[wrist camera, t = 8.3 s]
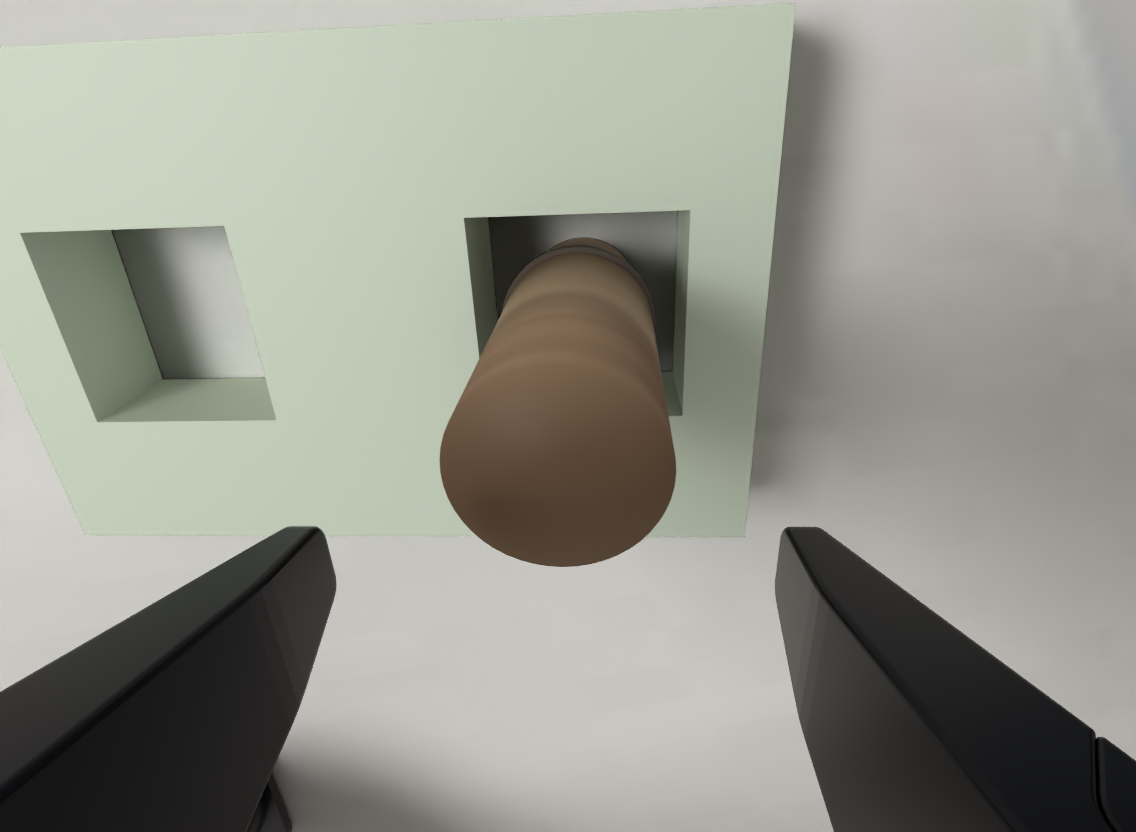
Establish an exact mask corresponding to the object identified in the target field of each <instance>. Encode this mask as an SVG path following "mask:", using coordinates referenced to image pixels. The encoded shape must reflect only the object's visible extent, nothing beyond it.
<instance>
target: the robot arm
mask: <svg viewBox="0 0 1136 832" xmlns="http://www.w3.org/2000/svg"><path fill="white" fill-rule="evenodd" d="M335 593H336V576H335V572H334V568H333V564H332V560H331V556H330V552H329V548H328V544H327V541H326V537H325V534H324V532H323V531H322V529H320V528H319V527H317V526H289V527H285V528H283V529H281V530H280V531H278V532H276V533H275V534H273V535H271V536H269V537H268V538H266V539H264V540H262V541H261V542H259V543H257V544H255V545H254V546H252V547H250V548H249V549H247V550H245V551H243V552H242V553H240V554H238V555H236V556H235V557H233V558H231V559H229V560H228V561H226V562H224V563H223V564H221V565H219V566H217V567H216V568H214V569H212V570H210V571H209V572H207V573H205V574H204V575H202V576H200V577H198V578H197V579H195V580H193V581H191V582H190V583H188V584H186V585H184V586H183V587H181V588H179V589H178V590H176V591H174V592H172V593H171V594H169V595H167V596H165V597H164V598H162V599H160V600H158V601H157V602H155V603H153V604H152V605H150V606H148V607H146V608H145V609H143V610H141V611H139V612H138V613H136V614H134V615H132V616H131V617H129V618H127V619H126V620H124V621H122V622H120V623H119V624H117V625H115V626H113V627H112V628H110V629H108V630H106V631H105V632H103V633H101V634H100V635H98V636H96V637H94V638H93V639H91V640H89V641H87V642H86V643H84V644H82V645H81V646H79V647H77V648H75V649H74V650H72V651H70V652H68V653H67V654H65V655H63V656H61V657H60V658H58V659H56V660H55V661H53V662H51V663H49V664H48V665H46V666H44V667H42V668H41V669H39V670H37V671H35V672H34V673H32V674H30V675H29V676H27V677H25V678H23V679H22V680H20V681H18V682H16V683H15V684H13V685H11V686H9V687H8V688H6V689H4V690H3V691H1V692H0V832H292V826H291V824H290V821H289V818H288V816H287V813H286V810H285V808H284V805H283V802H282V800H281V797H280V795H279V792H278V789H277V787H276V784H275V781H274V779H273V776H272V770H273V768H274V766H275V764H276V761H277V759H278V757H279V754H280V752H281V750H282V747H283V745H284V743H285V741H286V738H287V736H288V734H289V731H290V729H291V727H292V724H293V722H294V719H295V717H296V715H297V712H298V710H299V707H300V704H301V701H302V698H303V696H304V693H305V690H306V687H307V684H308V680H309V677H310V674H311V671H312V668H313V664H314V661H315V658H316V655H317V652H318V648H319V645H320V642H321V639H322V636H323V633H324V629H325V626H326V623H327V620H328V617H329V613H330V610H331V607H332V604H333V601H334V597H335ZM775 595H776V602H777V608H778V613H779V618H780V623H781V629H782V634H783V639H784V644H785V650H786V655H787V660H788V665H789V670H790V676H791V681H792V686H793V691H794V697H795V701H796V706H797V711H798V716H799V720H800V724H801V727H802V731H803V734H804V738H805V741H806V744H807V747H808V751H809V754H810V757H811V760H812V763H813V767H814V770H815V773H816V776H817V779H818V782H819V786H820V789H821V792H822V795H823V798H824V801H825V805H826V808H827V811H828V814H829V817H830V821H831V824H832V827H833V830H834V832H1136V761H1135V760H1134V759H1133V758H1131V757H1130V756H1129V755H1127V754H1126V753H1125V752H1123V751H1122V750H1121V749H1119V748H1118V747H1116V746H1115V745H1114V744H1112V743H1111V742H1110V741H1108V740H1107V739H1106V738H1104V737H1098V738H1096V734H1095V732H1094V730H1093V729H1092V728H1090V727H1089V726H1088V725H1086V724H1085V723H1084V722H1082V721H1081V720H1080V719H1078V718H1077V717H1075V716H1074V715H1073V714H1071V713H1070V712H1069V711H1067V710H1066V709H1065V708H1063V707H1062V706H1061V705H1059V704H1058V703H1057V702H1055V701H1054V700H1052V699H1051V698H1050V697H1048V696H1047V695H1046V694H1044V693H1043V692H1042V691H1040V690H1039V689H1038V688H1036V687H1035V686H1034V685H1032V684H1031V683H1029V682H1028V681H1027V680H1025V679H1024V678H1023V677H1021V676H1020V675H1019V674H1017V673H1016V672H1015V671H1013V670H1012V669H1011V668H1009V667H1008V666H1006V665H1005V664H1004V663H1002V662H1001V661H1000V660H998V659H997V658H996V657H994V656H993V655H992V654H990V653H989V652H988V651H986V650H985V649H984V648H982V647H981V646H979V645H978V644H977V643H975V642H974V641H973V640H971V639H970V638H969V637H967V636H966V635H965V634H963V633H962V632H961V631H959V630H958V629H956V628H955V627H954V626H952V625H951V624H950V623H948V622H947V621H946V620H944V619H943V618H942V617H940V616H939V615H938V614H936V613H935V612H933V611H932V610H931V609H929V608H928V607H927V606H925V605H924V604H923V603H921V602H920V601H919V600H917V599H916V598H915V597H913V596H912V595H910V594H909V593H908V592H906V591H905V590H904V589H902V588H901V587H900V586H898V585H897V584H896V583H894V582H893V581H892V580H890V579H889V578H888V577H886V576H885V575H883V574H882V573H881V572H879V571H878V570H877V569H875V568H874V567H873V566H871V565H870V564H869V563H867V562H866V561H865V560H863V559H862V558H860V557H859V556H858V555H856V554H855V553H854V552H852V551H851V550H850V549H848V548H847V547H846V546H844V545H843V544H842V543H840V542H839V541H837V540H836V539H835V538H833V537H832V536H831V535H829V534H828V533H827V532H825V531H824V530H822V529H821V528H818V527H787V528H785V529H784V530H783V532H782V535H781V539H780V547H779V555H778V563H777V571H776V579H775Z"/></svg>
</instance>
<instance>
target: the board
mask: <svg viewBox="0 0 1136 832" xmlns="http://www.w3.org/2000/svg"><path fill="white" fill-rule="evenodd" d="M795 7H796V3H781V4H763V5H746V6H728V7H710V8H692V9H674V10H656V11H639V12H621V13H603V14H585V15H567V16H549V17H531V18H514V19H496V20H478V21H460V22H442V23H424V24H407V25H389V26H371V27H353V28H335V29H317V30H299V31H282V32H264V33H246V34H228V35H210V36H192V37H175V38H157V39H139V40H121V41H103V42H85V43H68V44H50V45H32V46H14V47H0V351H1V353H2V355H3V357H4V359H5V362H6V364H7V366H8V368H9V370H10V372H11V375H12V377H13V379H14V381H15V383H16V386H17V388H18V390H19V392H20V394H21V397H22V399H23V401H24V403H25V405H26V408H27V410H28V412H29V414H30V416H31V418H32V421H33V423H34V425H35V427H36V429H37V432H38V434H39V436H40V438H41V440H42V443H43V445H44V447H45V449H46V451H47V453H48V456H49V458H50V460H51V462H52V464H53V467H54V469H55V471H56V473H57V475H58V478H59V480H60V482H61V484H62V486H63V488H64V491H65V493H66V495H67V497H68V499H69V502H70V504H71V506H72V508H73V510H74V513H75V515H76V517H77V519H78V521H79V523H80V526H81V528H82V530H83V532H84V534H85V535H134V536H271V535H273V534H275V533H276V532H278V531H280V530H281V529H283V528H285V527H289V526H317V527H319V528H320V529H322V531H323V532H324V534H325V536H477V535H475V534H474V533H473V532H472V531H471V530H470V529H469V528H468V527H467V526H466V525H465V524H464V523H463V521H462V520H461V519H460V517H459V516H458V515H457V513H456V512H455V511H454V509H453V507H452V505H451V503H450V501H449V500H448V497H447V495H446V492H445V489H444V487H443V483H442V478H441V474H440V461H439V460H440V447H441V443H442V438H443V434H444V432H445V429H446V427H447V424H448V422H449V420H450V418H451V415H452V413H453V411H454V409H455V407H456V405H457V403H458V401H459V399H460V397H461V395H462V393H463V391H464V389H465V387H466V385H467V383H468V381H469V379H470V377H471V375H472V373H473V371H474V369H475V367H476V364H477V362H478V360H479V358H480V356H481V354H482V352H483V350H484V348H485V346H486V344H487V342H488V340H489V338H490V336H491V334H492V332H493V330H494V328H495V326H496V324H497V322H498V319H497V308H496V298H495V287H494V277H493V266H492V255H491V245H490V234H489V224H488V217H505V216H534V215H564V214H594V213H624V212H653V211H678V229H677V261H676V293H675V325H674V357H673V371H667V372H661V374H662V380H663V386H664V392H665V398H666V404H667V410H668V416H669V422H670V428H671V433H672V439H673V445H674V451H675V457H676V480H675V487H674V491H673V494H672V498H671V500H670V503H669V505H668V507H667V510H666V511H665V513H664V515H663V516H662V518H661V519H660V521H659V522H658V524H657V525H656V526H655V527H654V528H653V530H652V531H651V532H650V533H649V534H648V535H647V536H645V537H745V530H746V519H747V509H748V498H749V488H750V478H751V467H752V457H753V446H754V436H755V425H756V415H757V404H758V394H759V383H760V373H761V362H762V352H763V341H764V331H765V321H766V310H767V300H768V289H769V279H770V268H771V258H772V247H773V237H774V226H775V216H776V205H777V195H778V185H779V174H780V164H781V153H782V143H783V132H784V122H785V111H786V101H787V90H788V80H789V69H790V59H791V48H792V38H793V28H794V17H795ZM207 226H224V228H225V231H226V235H227V239H228V243H229V246H230V250H231V254H232V257H233V261H234V265H235V268H236V272H237V276H238V280H239V283H240V287H241V291H242V294H243V298H244V302H245V305H246V309H247V313H248V316H249V320H250V324H251V328H252V331H253V335H254V339H255V342H256V346H257V350H258V353H259V357H260V361H261V365H262V368H263V372H264V376H265V378H222V379H163V378H162V376H161V373H160V370H159V367H158V364H157V361H156V358H155V355H154V352H153V350H152V347H151V344H150V341H149V338H148V335H147V332H146V329H145V327H144V324H143V321H142V318H141V315H140V312H139V309H138V306H137V303H136V301H135V298H134V295H133V292H132V289H131V286H130V283H129V280H128V277H127V275H126V272H125V269H124V266H123V263H122V260H121V257H120V254H119V251H118V249H117V246H116V243H115V240H114V237H113V234H112V231H111V230H118V229H148V228H177V227H207Z"/></svg>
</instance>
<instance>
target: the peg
mask: <svg viewBox="0 0 1136 832" xmlns="http://www.w3.org/2000/svg"><path fill="white" fill-rule="evenodd" d="M655 332H656V314H655V308H654V303H653V299H652V296H651V294H650V291H649V289H648V287H647V285H646V283H645V282H644V280H643V279H642V277H641V276H640V274H639V273H638V272H637V271H636V270H635V269H634V268H633V267H632V266H631V265H630V264H629V263H628V262H627V260H626V259H625V257H624V256H623V255H622V254H621V253H620V252H619V251H618V250H617V249H615V248H614V247H612V246H611V245H609V244H607V243H605V242H603V241H600V240H597V239H592V238H574V239H569V240H566V241H563V242H561V243H559V244H557V245H555V246H554V247H553V248H551V249H550V250H549V251H548V252H545V253H543V254H541V255H540V256H538V257H536V258H535V259H533V260H532V261H531V262H529V263H528V264H527V265H526V266H525V267H524V268H523V269H522V270H521V271H520V272H519V274H518V275H517V276H516V277H515V279H514V281H513V282H512V284H511V286H510V288H509V290H508V292H507V295H506V297H505V300H504V304H503V308H502V314H501V316H500V318H499V320H498V322H497V324H496V326H495V328H494V330H493V332H492V334H491V336H490V338H489V340H488V342H487V344H486V346H485V348H484V350H483V352H482V354H481V356H480V358H479V360H478V362H477V364H476V367H475V369H474V371H473V373H472V375H471V377H470V379H469V381H468V383H467V385H466V387H465V389H464V391H463V393H462V395H461V397H460V399H459V401H458V403H457V405H456V407H455V409H454V411H453V413H452V415H451V418H450V420H449V422H448V424H447V427H446V429H445V432H444V434H443V438H442V443H441V447H440V460H439V461H440V474H441V478H442V483H443V487H444V489H445V492H446V495H447V497H448V500H449V501H450V503H451V505H452V507H453V509H454V511H455V512H456V513H457V515H458V516H459V517H460V519H461V520H462V521H463V523H464V524H465V525H466V526H467V527H468V528H469V529H470V530H471V531H472V532H473V533H474V534H475V535H477V536H478V537H479V538H480V539H481V540H483V541H484V542H486V543H487V544H489V545H490V546H492V547H493V548H495V549H497V550H499V551H501V552H502V553H504V554H506V555H509V556H511V557H514V558H517V559H519V560H522V561H526V562H530V563H534V564H539V565H546V566H558V567H568V566H580V565H587V564H592V563H596V562H600V561H604V560H606V559H609V558H611V557H614V556H617V555H619V554H620V553H622V552H624V551H626V550H628V549H630V548H631V547H633V546H634V545H635V544H637V543H638V542H640V541H641V540H642V539H643V538H644V537H645V536H647V535H648V534H649V533H650V532H651V531H652V530H653V528H654V527H655V526H656V525H657V524H658V522H659V521H660V519H661V518H662V516H663V515H664V513H665V511H666V510H667V507H668V505H669V503H670V500H671V498H672V494H673V491H674V487H675V480H676V457H675V451H674V445H673V439H672V433H671V428H670V422H669V416H668V410H667V404H666V398H665V392H664V386H663V380H662V374H661V368H660V362H659V356H658V351H657V345H656V339H655Z"/></svg>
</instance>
